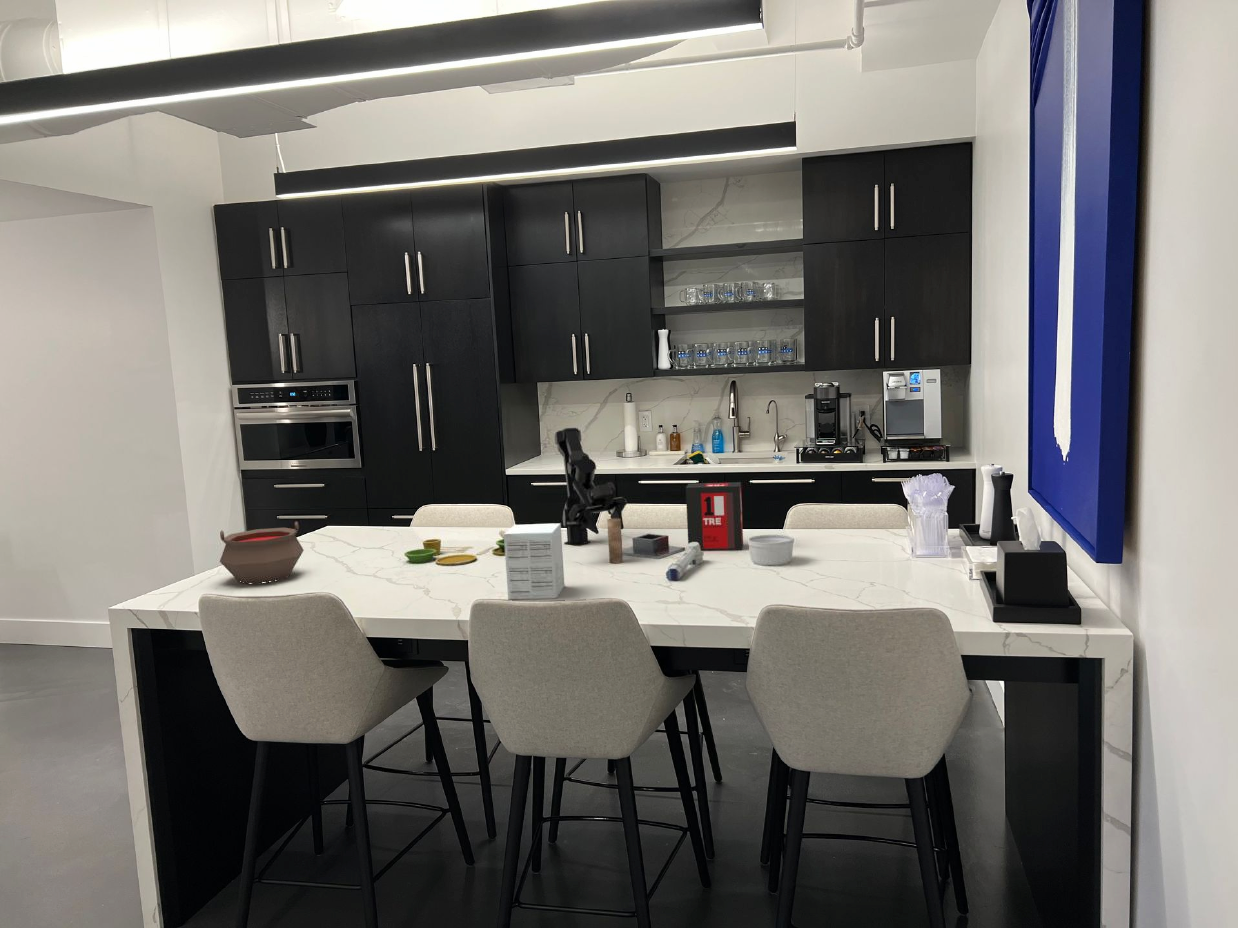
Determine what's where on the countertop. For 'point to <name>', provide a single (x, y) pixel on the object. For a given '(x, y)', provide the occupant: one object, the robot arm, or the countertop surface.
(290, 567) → the brown cooking pot
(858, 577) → the countertop surface
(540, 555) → the supplement box
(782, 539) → the ramekin
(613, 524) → the rail post
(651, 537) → the grey square socket base
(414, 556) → the tableware set
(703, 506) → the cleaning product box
